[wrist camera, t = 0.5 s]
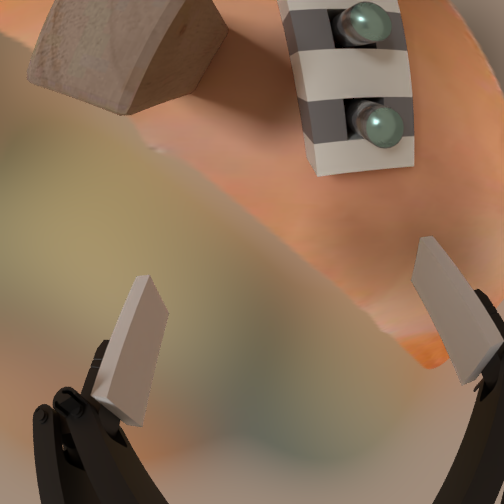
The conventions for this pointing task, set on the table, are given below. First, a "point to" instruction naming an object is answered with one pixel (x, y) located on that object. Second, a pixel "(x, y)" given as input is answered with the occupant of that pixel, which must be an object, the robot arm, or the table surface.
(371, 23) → the peg
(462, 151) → the table surface
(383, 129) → the peg
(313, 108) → the socket board
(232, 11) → the table surface
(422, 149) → the table surface
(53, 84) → the wooden block
